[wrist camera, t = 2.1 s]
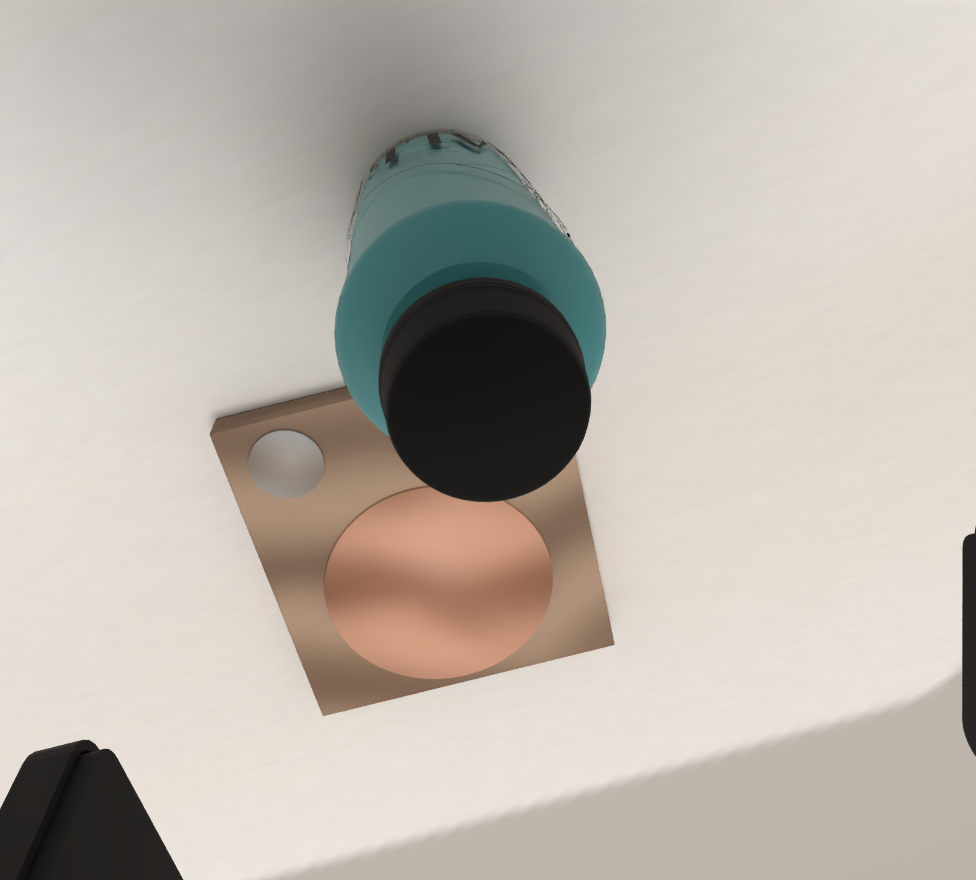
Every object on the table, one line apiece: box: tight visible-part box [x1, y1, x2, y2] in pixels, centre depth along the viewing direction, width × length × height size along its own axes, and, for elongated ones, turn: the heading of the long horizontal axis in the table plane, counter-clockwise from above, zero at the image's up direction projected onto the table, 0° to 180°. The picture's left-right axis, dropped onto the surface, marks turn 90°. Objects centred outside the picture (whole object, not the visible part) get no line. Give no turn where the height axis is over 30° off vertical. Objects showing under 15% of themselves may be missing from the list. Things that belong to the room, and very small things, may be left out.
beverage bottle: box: [335, 130, 606, 502], centre depth 26 cm, size 6×7×20 cm
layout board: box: [210, 387, 614, 716], centre depth 40 cm, size 15×14×2 cm
